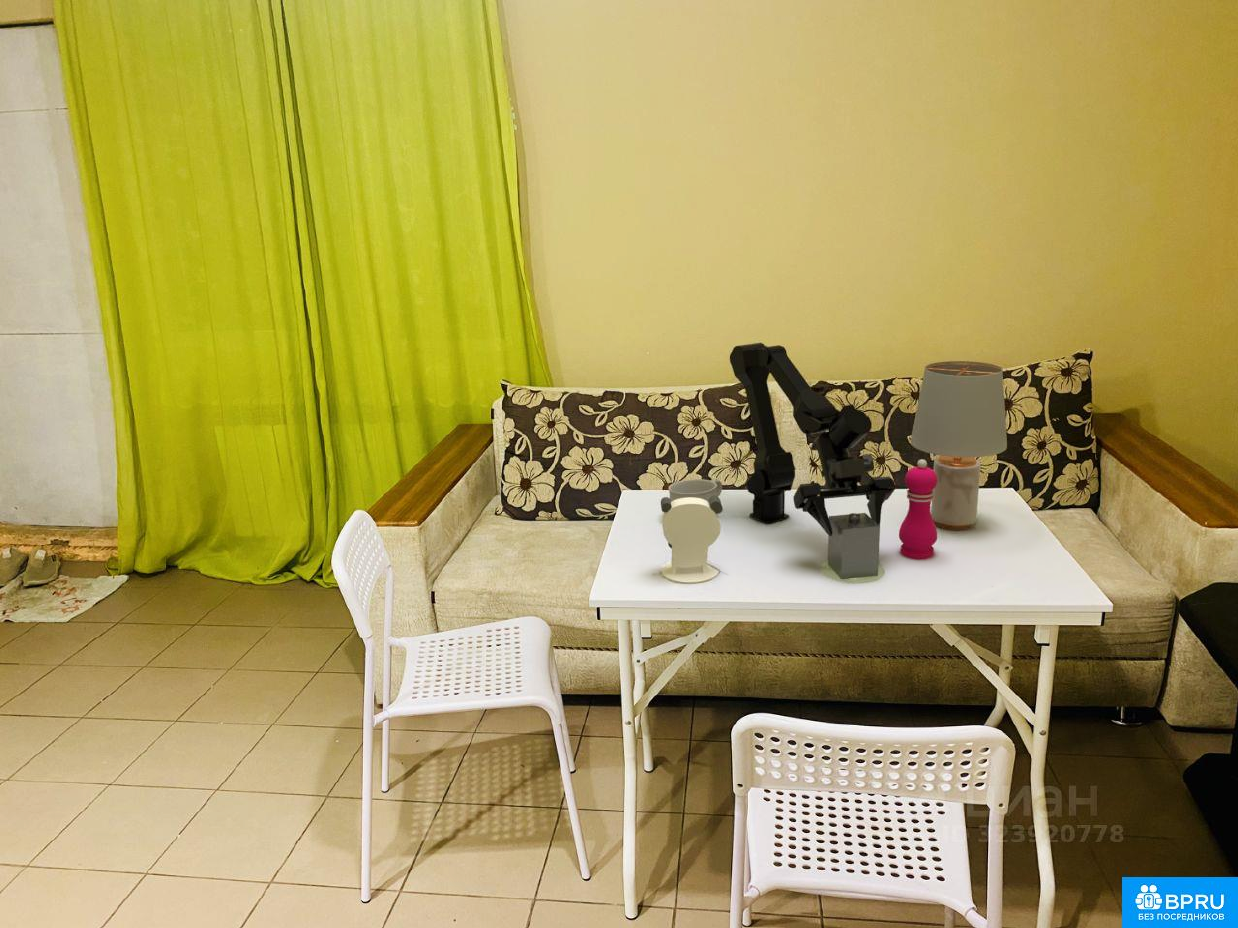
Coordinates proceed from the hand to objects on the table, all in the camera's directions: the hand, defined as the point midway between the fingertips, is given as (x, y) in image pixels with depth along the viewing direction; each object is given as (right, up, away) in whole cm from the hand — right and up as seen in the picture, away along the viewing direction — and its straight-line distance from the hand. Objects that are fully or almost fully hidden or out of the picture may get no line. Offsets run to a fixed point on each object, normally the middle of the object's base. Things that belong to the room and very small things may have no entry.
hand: (854, 533), depth 175 cm
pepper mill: (+15, -5, +9) cm, 18 cm away
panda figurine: (-30, -8, +7) cm, 32 cm away
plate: (0, -8, +3) cm, 8 cm away
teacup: (-26, +1, +35) cm, 44 cm away
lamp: (+27, 0, +24) cm, 37 cm away
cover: (0, -7, +3) cm, 8 cm away
